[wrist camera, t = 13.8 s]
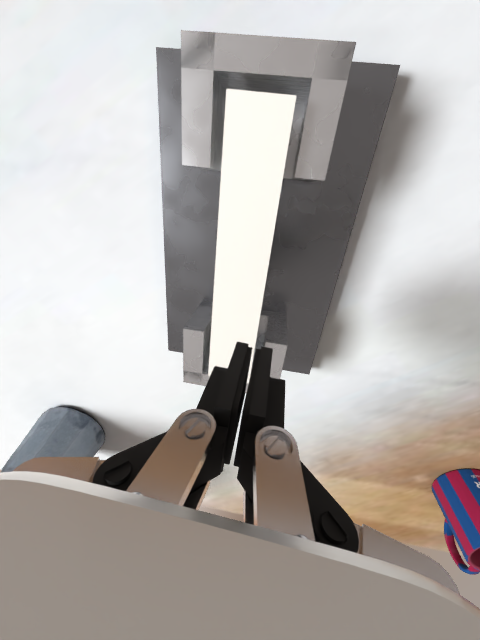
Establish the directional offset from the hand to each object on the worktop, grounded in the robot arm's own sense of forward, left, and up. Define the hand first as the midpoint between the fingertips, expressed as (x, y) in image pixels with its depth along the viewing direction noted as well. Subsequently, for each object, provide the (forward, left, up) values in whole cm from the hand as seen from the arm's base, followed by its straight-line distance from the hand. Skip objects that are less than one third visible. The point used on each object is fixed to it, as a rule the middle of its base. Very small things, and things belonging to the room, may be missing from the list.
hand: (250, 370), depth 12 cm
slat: (+1, -3, -10) cm, 10 cm away
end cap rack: (+1, -3, -12) cm, 12 cm away
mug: (-27, +23, -12) cm, 37 cm away
